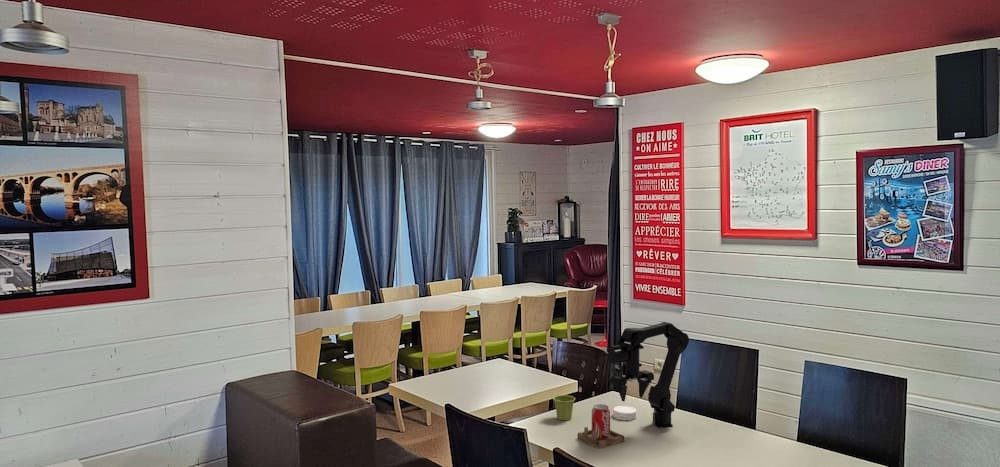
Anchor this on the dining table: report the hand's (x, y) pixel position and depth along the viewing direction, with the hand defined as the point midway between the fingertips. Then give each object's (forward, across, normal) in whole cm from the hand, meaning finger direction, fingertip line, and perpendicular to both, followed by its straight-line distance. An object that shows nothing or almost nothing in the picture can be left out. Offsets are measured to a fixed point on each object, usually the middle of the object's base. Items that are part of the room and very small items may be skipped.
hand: (632, 399), depth 253 cm
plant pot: (+13, +13, -27) cm, 33 cm away
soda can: (+12, +16, +1) cm, 20 cm away
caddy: (+13, +16, +1) cm, 21 cm away
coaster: (+13, -10, -15) cm, 23 cm away
